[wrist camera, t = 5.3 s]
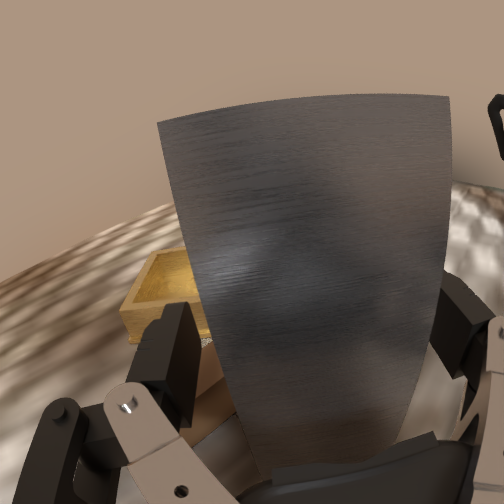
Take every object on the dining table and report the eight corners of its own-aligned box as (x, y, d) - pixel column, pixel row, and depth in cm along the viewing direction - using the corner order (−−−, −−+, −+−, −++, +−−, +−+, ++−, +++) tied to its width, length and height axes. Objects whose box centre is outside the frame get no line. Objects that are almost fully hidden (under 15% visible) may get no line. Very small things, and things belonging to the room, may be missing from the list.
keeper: (129, 343, 21) (115, 312, 20) (158, 276, 30) (150, 251, 29) (264, 330, 21) (258, 295, 20) (258, 262, 30) (253, 234, 29)
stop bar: (268, 493, 10) (157, 122, 4) (262, 410, 15) (200, 116, 9) (380, 472, 10) (448, 96, 4) (356, 394, 15) (357, 97, 9)
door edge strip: (153, 430, 14) (130, 398, 13) (323, 291, 24) (322, 257, 23) (178, 457, 13) (156, 427, 11) (350, 299, 22) (350, 264, 21)
